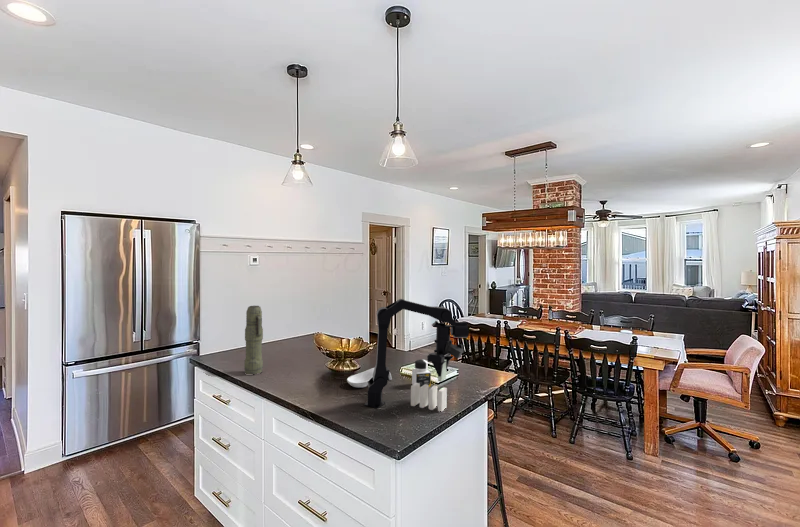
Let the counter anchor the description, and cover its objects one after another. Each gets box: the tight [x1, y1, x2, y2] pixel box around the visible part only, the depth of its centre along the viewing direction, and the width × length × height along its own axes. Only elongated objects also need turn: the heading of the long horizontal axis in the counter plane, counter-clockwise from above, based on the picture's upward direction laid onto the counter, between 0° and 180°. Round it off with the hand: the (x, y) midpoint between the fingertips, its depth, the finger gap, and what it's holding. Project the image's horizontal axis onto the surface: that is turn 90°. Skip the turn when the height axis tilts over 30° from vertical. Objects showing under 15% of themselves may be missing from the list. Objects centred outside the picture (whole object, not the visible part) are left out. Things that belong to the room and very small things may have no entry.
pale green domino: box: [437, 359, 447, 382], centre depth 161 cm, size 2×5×8 cm, turn 152°
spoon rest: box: [346, 366, 393, 389], centre depth 186 cm, size 24×12×7 cm, turn 130°
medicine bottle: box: [411, 359, 432, 388], centre depth 183 cm, size 7×7×12 cm
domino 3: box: [428, 385, 438, 411], centre depth 155 cm, size 2×5×8 cm, turn 152°
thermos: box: [243, 305, 264, 374], centre depth 201 cm, size 9×12×35 cm
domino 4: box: [437, 387, 448, 413], centre depth 153 cm, size 2×5×8 cm, turn 150°
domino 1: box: [410, 383, 420, 407], centre depth 159 cm, size 2×5×8 cm, turn 152°
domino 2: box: [419, 384, 429, 409], centre depth 157 cm, size 2×5×8 cm, turn 152°
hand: (441, 374), depth 161 cm, fingers closed on pale green domino, 5 cm apart
